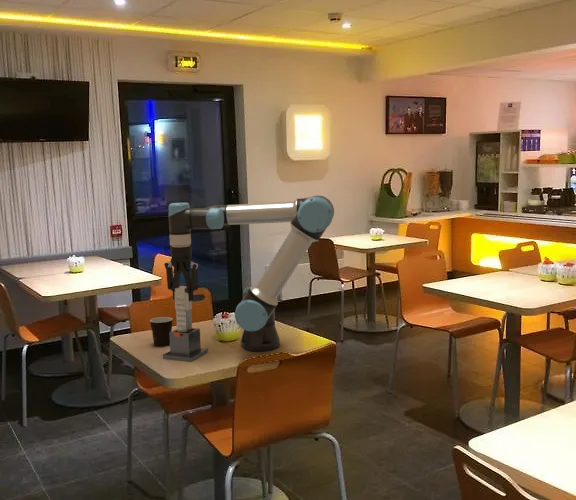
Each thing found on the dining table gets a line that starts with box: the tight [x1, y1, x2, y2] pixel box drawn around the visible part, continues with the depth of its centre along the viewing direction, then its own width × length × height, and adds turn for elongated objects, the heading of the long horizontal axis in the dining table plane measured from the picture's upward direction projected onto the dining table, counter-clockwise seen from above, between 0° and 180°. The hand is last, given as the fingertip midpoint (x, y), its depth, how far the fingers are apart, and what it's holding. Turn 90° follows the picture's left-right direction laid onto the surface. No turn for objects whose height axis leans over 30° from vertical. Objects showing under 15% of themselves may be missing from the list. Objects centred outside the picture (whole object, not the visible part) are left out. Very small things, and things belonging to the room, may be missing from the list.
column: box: [175, 285, 193, 333], centre depth 226 cm, size 4×4×18 cm
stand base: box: [162, 327, 209, 363], centre depth 228 cm, size 12×12×10 cm
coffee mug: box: [149, 316, 173, 348], centre depth 244 cm, size 12×9×10 cm
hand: (183, 308), depth 226 cm, fingers closed on column, 4 cm apart
